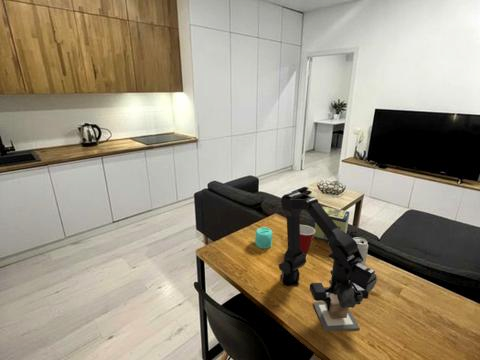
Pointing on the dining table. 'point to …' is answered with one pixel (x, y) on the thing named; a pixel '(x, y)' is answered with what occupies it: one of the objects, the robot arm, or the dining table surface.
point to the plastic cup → (306, 237)
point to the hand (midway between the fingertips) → (335, 309)
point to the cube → (336, 308)
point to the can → (361, 248)
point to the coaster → (335, 323)
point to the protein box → (338, 218)
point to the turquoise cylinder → (263, 238)
